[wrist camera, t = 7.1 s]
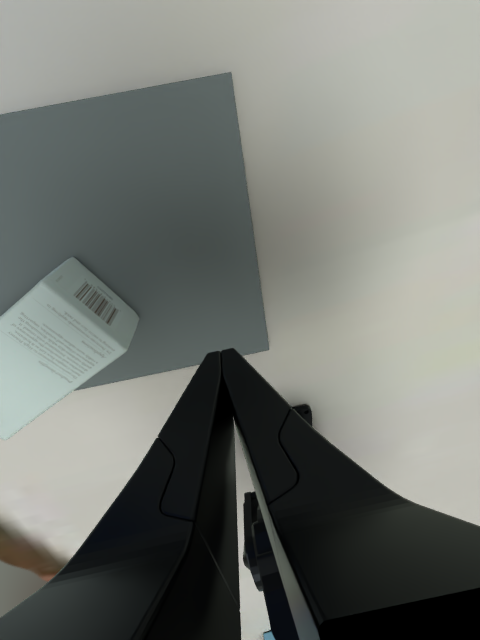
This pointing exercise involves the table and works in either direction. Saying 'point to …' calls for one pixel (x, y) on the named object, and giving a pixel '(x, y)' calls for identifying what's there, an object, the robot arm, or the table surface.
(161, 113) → the mat
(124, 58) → the table surface
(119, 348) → the skincare box
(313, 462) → the robot arm
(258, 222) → the table surface
